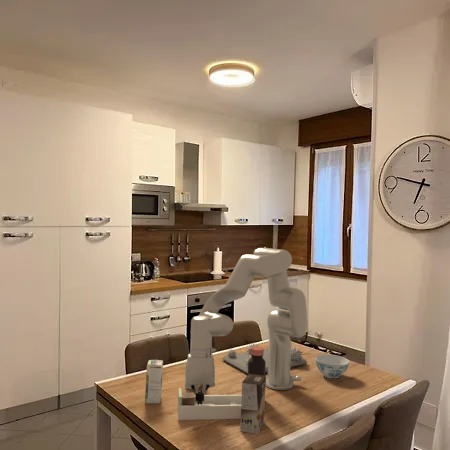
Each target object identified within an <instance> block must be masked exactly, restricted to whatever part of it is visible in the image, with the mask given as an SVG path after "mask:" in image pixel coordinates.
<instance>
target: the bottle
mask: <svg viewBox="0 0 450 450" xmlns="http://www.w3.org/2000/svg"><path fill="white" fill-rule="evenodd" d="M250 348H251V347H250ZM264 349H265V348H263V347H261V346H258V347H252V348H251V356H252V357H251V358H250V359H249V360H248V374H253V375H254V374H255V375H262V376H266V373H265V365H266V362H265V360H264V359H263V354H264ZM248 374H247V375H248Z"/></svg>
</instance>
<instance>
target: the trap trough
mask: <svg viewBox="0 0 450 450" xmlns="http://www.w3.org/2000/svg"><path fill="white" fill-rule="evenodd" d="M177 390H178V392H177V393H178V394H177V420H178V421H189V420H190V421H191V420H192V421H193V420H198V421H199V420H234V419H235V420H237V419H240V420H241V402H242V394H204V401H202V405H201V404H199V405H198V403H197V401H195V400H194V405H184V406H182V393H183V392H182V388H181V387H178V389H177ZM195 396H196V394H194V397H195Z"/></svg>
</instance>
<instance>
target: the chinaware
mask: <svg viewBox="0 0 450 450" xmlns="http://www.w3.org/2000/svg"><path fill="white" fill-rule="evenodd" d="M314 359H315V360H314V361H315V363H316V367H317V369H318V370H319V371H320V373H321V374H323V377H324V376H325V378H326V377H328V378H327V379H329V378H338V379H339V378H340V376H342V375H344V374H345V373H346V372H347V369H348V368H349V364H350V361H349V359H347V358H346V357H344V356H341V355H336V354H319V355H316V356H315V358H314Z"/></svg>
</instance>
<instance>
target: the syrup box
mask: <svg viewBox="0 0 450 450" xmlns="http://www.w3.org/2000/svg"><path fill="white" fill-rule="evenodd" d="M163 365H164V360H161V359H160V360H159V359H149V360H148V362H147V365H146V374H145V375H146V377H145V395H144V403H145V404H161V400H162V394H163V393H162V391H163V388H162V387H163V367H164V366H163Z"/></svg>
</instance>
